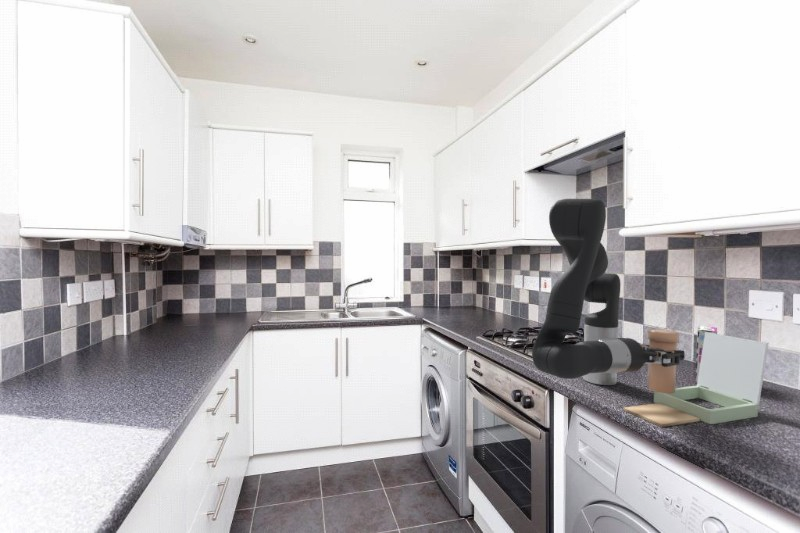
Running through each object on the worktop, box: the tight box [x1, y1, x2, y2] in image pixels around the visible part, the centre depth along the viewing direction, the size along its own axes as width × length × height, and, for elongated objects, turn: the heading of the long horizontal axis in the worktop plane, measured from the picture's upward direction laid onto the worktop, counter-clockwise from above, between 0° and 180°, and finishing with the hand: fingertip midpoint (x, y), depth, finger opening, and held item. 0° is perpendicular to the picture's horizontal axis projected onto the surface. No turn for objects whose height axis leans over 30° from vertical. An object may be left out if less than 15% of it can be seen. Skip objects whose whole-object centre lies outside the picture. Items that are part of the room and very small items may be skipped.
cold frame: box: [653, 385, 759, 425], centre depth 97 cm, size 14×16×3 cm
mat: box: [623, 402, 701, 428], centre depth 93 cm, size 10×12×1 cm
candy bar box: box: [694, 325, 718, 383], centre depth 121 cm, size 11×5×16 cm, turn 141°
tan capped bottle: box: [647, 329, 680, 394], centre depth 92 cm, size 6×6×14 cm
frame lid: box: [696, 332, 769, 405], centre depth 100 cm, size 14×3×15 cm, turn 18°
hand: (670, 351), depth 93 cm, fingers closed on tan capped bottle, 5 cm apart
